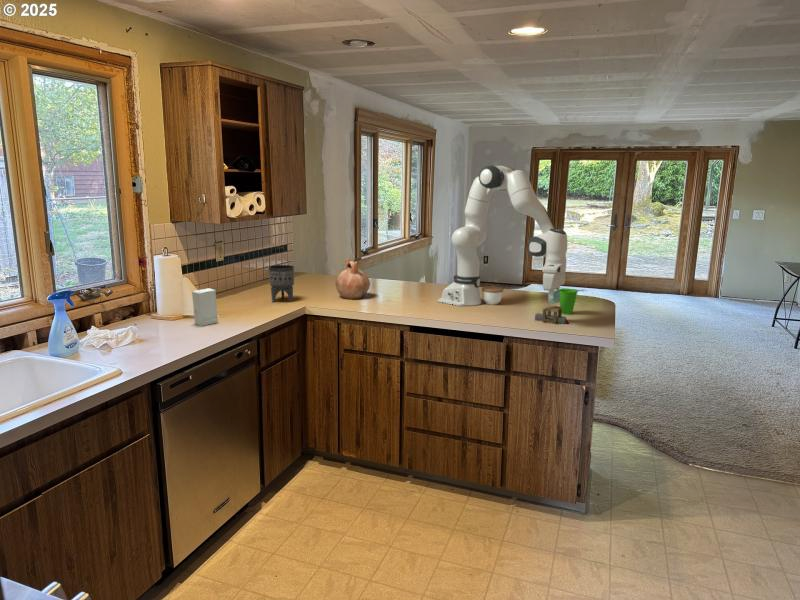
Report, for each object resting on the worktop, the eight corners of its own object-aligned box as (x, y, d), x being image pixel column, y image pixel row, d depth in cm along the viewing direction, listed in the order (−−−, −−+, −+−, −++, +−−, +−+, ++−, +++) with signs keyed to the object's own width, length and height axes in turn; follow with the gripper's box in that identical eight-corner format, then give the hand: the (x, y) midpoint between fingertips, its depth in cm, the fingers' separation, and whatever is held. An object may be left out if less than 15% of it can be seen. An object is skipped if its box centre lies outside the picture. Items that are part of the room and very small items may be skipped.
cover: (542, 322, 251) (543, 308, 250) (548, 318, 258) (548, 305, 257) (555, 324, 248) (556, 310, 247) (561, 320, 255) (562, 306, 253)
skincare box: (211, 320, 250) (209, 287, 247) (218, 323, 246) (216, 289, 243) (193, 324, 244) (191, 290, 241) (200, 326, 240) (198, 292, 237)
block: (548, 302, 250) (548, 292, 249) (550, 300, 254) (550, 290, 253) (557, 302, 248) (557, 292, 247) (559, 301, 252) (559, 291, 251)
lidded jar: (497, 306, 281) (498, 288, 279) (477, 304, 286) (478, 285, 284) (505, 302, 290) (506, 284, 288) (486, 300, 295) (487, 282, 293)
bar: (534, 320, 255) (535, 314, 254) (536, 319, 257) (537, 313, 256) (563, 324, 248) (564, 318, 247) (565, 323, 251) (566, 316, 250)
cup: (561, 310, 274) (562, 287, 272) (579, 313, 269) (581, 290, 266) (553, 313, 268) (554, 290, 265) (571, 316, 262) (573, 293, 260)
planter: (277, 304, 282) (275, 269, 278) (265, 300, 292) (263, 266, 288) (300, 301, 290) (299, 267, 286) (287, 297, 300) (286, 264, 296)
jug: (374, 299, 296) (374, 261, 292) (341, 301, 290) (340, 263, 285) (363, 292, 313) (363, 256, 309) (332, 294, 306) (331, 258, 302)
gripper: (555, 262, 258) (553, 292, 261) (540, 268, 241) (539, 300, 244) (569, 264, 255) (567, 294, 258) (555, 270, 238) (553, 302, 241)
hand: (553, 297), depth 251 cm, fingers closed on block, 4 cm apart
